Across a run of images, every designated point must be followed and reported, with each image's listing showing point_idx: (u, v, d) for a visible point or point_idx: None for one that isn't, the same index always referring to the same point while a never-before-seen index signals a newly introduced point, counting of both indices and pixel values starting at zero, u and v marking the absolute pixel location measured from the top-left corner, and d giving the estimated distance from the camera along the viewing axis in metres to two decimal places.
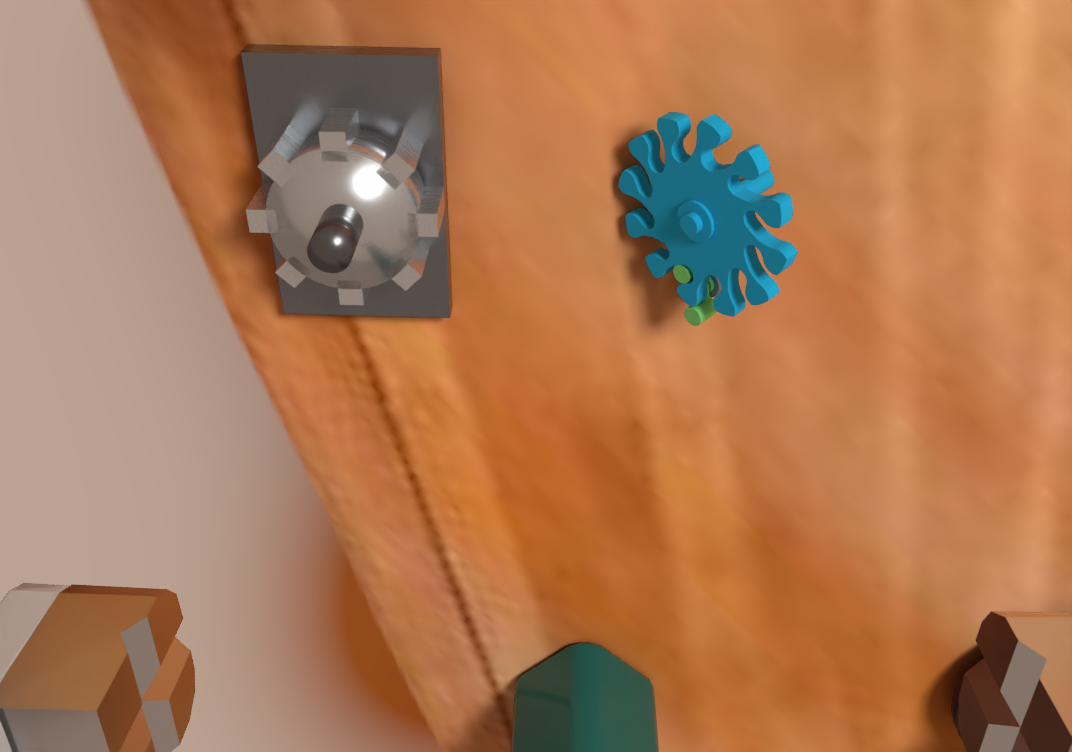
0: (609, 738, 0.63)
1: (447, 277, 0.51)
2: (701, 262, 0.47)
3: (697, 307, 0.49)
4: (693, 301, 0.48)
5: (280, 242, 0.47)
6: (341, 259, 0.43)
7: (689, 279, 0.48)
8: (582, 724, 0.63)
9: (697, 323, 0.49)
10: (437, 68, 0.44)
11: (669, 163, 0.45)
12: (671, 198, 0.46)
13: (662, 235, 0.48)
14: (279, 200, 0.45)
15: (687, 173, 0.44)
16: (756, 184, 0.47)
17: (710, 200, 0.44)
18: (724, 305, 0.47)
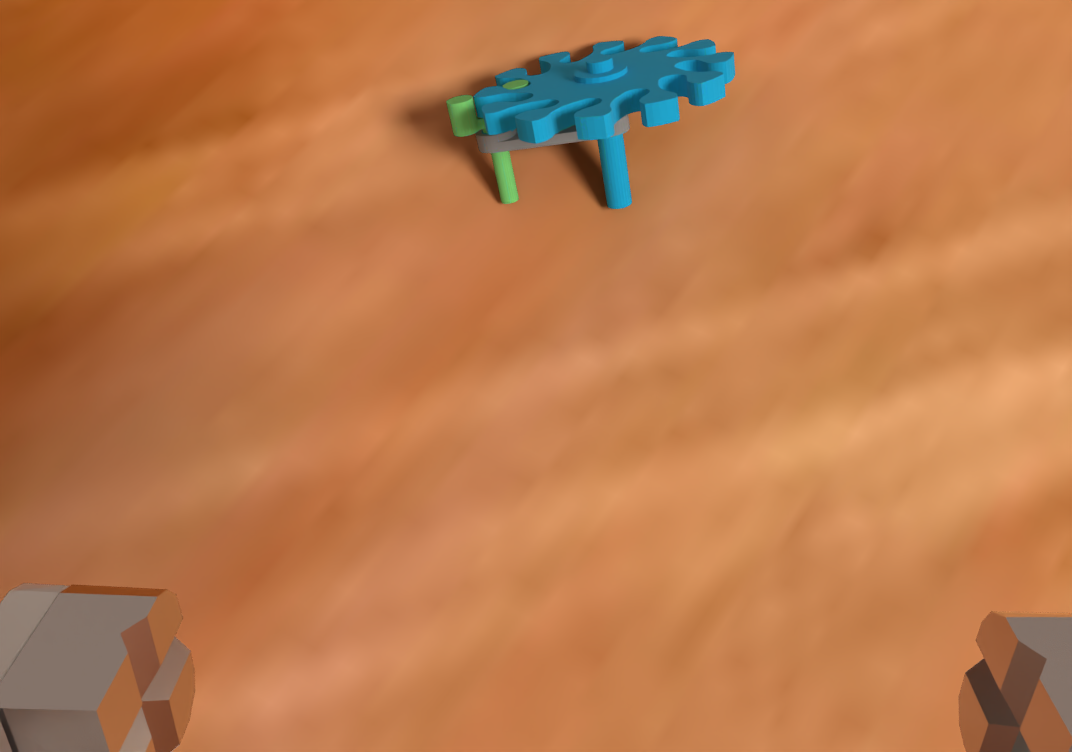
0: None
1: None
2: (545, 87, 0.37)
3: (473, 104, 0.38)
4: (482, 95, 0.38)
5: None
6: None
7: (512, 88, 0.38)
8: None
9: (451, 103, 0.38)
10: None
11: (659, 52, 0.38)
12: None
13: (559, 68, 0.39)
14: None
15: (657, 60, 0.37)
16: (624, 175, 0.39)
17: (636, 74, 0.36)
18: (496, 107, 0.36)
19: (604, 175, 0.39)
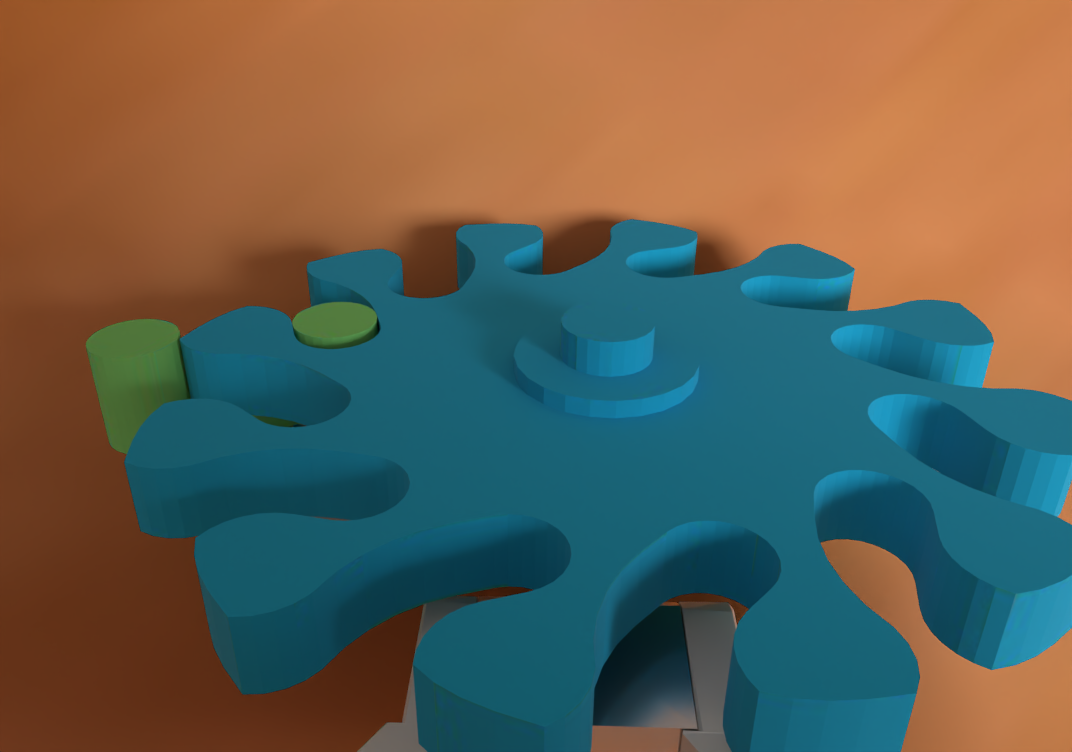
0: None
1: None
2: (406, 373, 0.11)
3: (173, 363, 0.11)
4: (207, 344, 0.11)
5: None
6: None
7: (314, 339, 0.11)
8: None
9: (97, 349, 0.11)
10: None
11: (805, 317, 0.12)
12: (661, 314, 0.12)
13: (491, 288, 0.13)
14: None
15: (803, 356, 0.11)
16: None
17: (728, 412, 0.10)
18: (189, 433, 0.10)
19: None
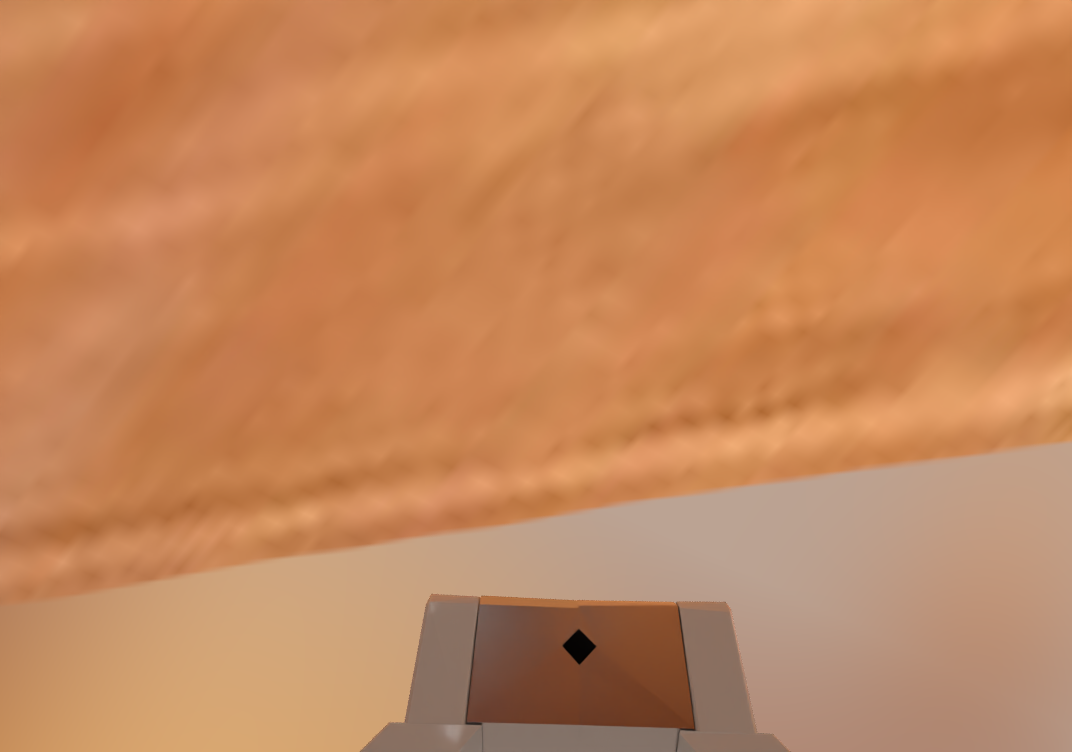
0: None
1: None
2: None
3: None
4: None
5: None
6: None
7: None
8: None
9: None
10: None
11: None
12: None
13: None
14: None
15: None
16: None
17: None
18: None
19: None
